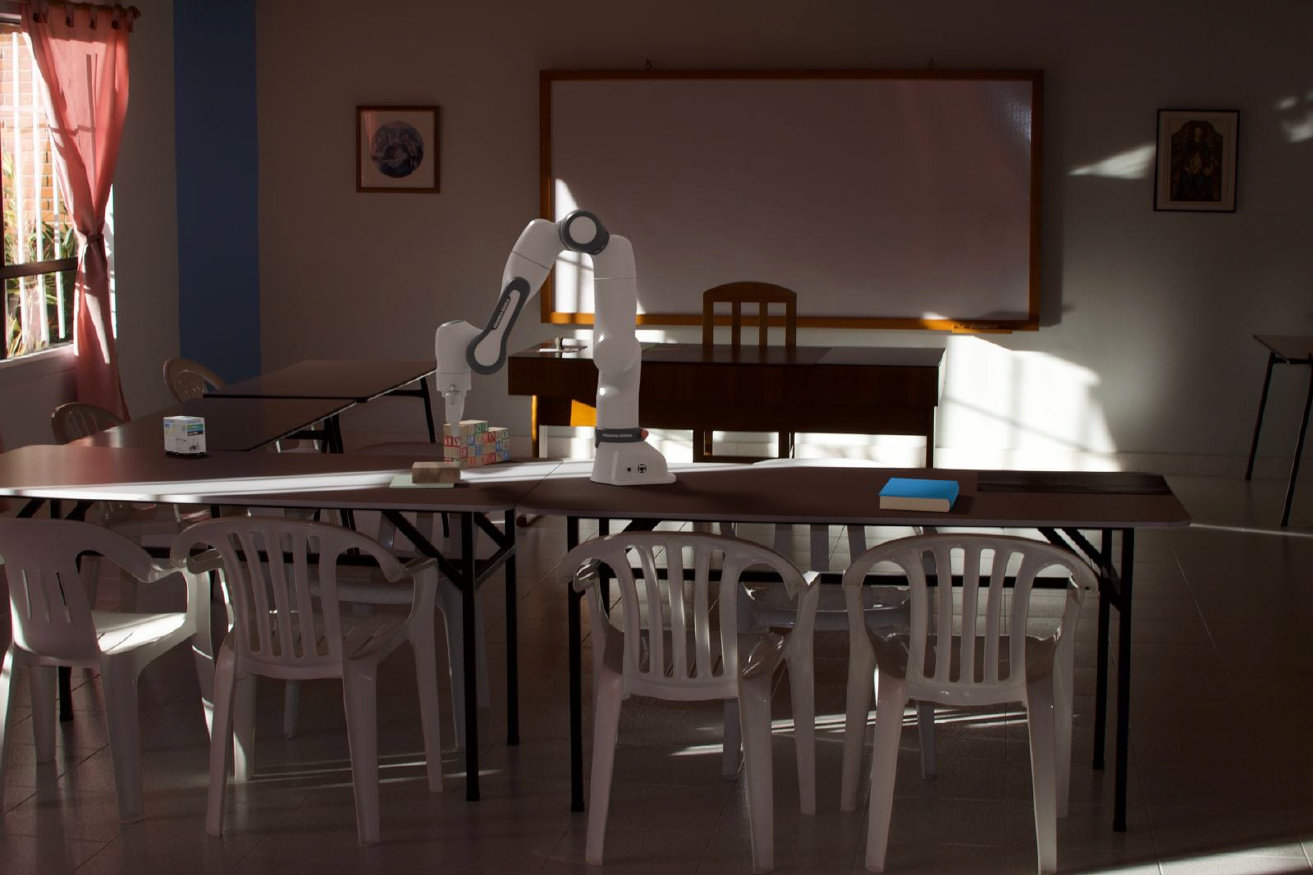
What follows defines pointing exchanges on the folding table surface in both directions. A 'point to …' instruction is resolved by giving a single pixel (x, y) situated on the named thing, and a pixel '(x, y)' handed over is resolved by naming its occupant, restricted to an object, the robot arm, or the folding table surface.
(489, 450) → the stack of blocks
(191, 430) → the light bulb box
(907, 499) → the book
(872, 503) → the folding table surface
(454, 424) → the robot arm
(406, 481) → the mat
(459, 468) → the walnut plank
